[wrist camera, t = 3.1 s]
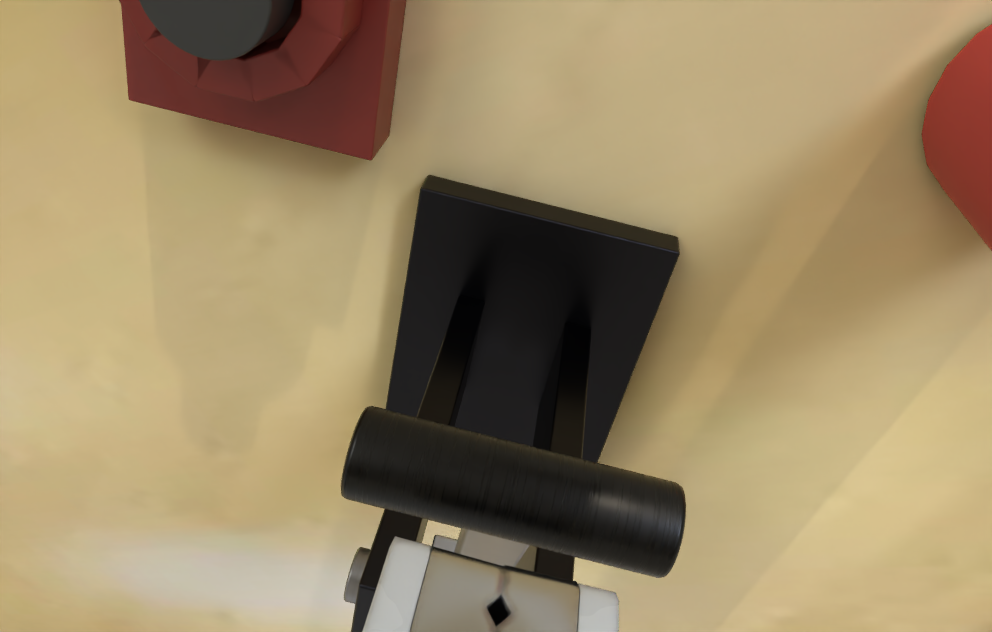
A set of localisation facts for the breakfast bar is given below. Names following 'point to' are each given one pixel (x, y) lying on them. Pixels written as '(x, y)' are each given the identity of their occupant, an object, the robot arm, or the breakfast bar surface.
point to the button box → (283, 75)
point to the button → (217, 24)
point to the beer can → (964, 132)
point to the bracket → (516, 335)
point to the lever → (513, 495)
